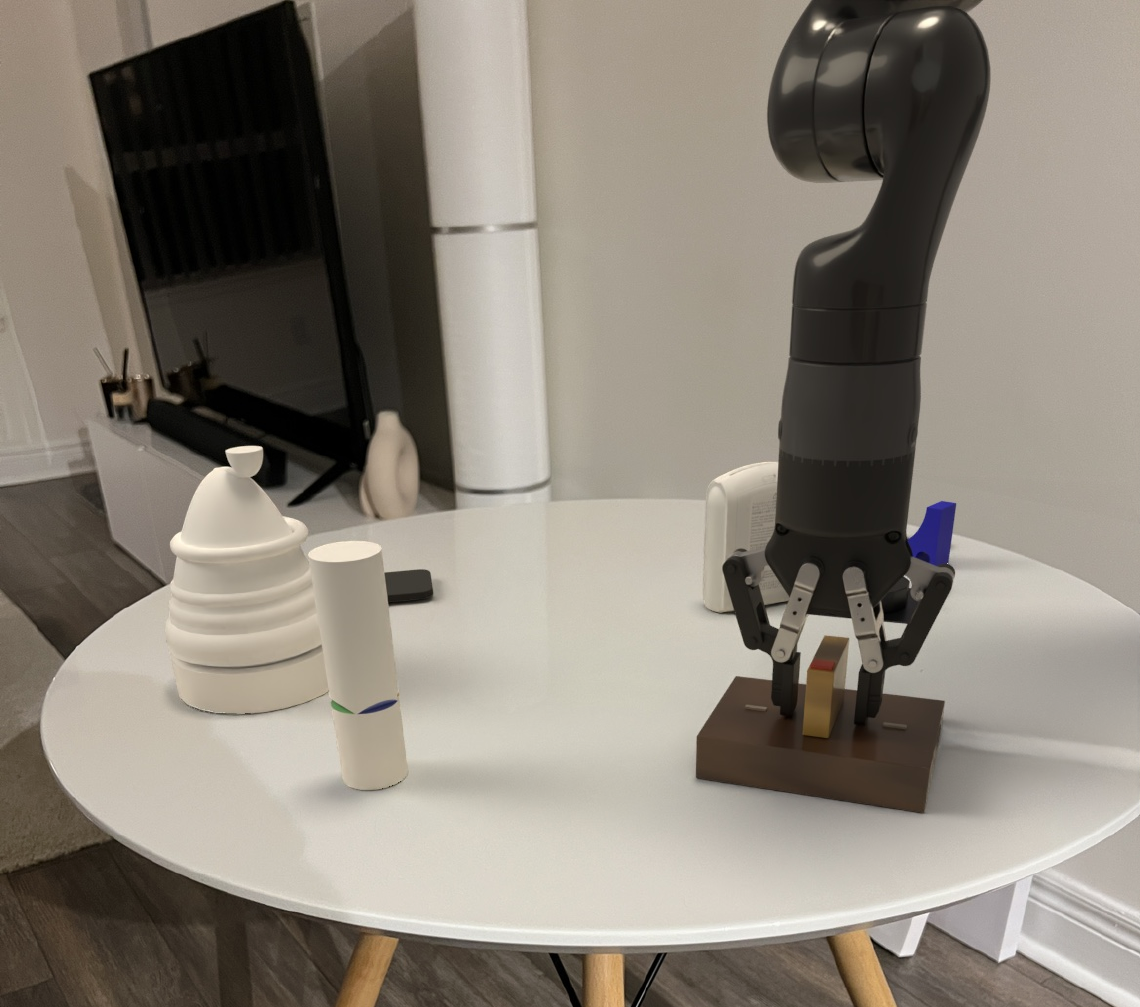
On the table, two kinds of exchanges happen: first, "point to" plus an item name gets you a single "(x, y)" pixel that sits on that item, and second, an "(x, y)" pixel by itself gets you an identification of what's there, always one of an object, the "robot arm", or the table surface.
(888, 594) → the button block
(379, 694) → the tube
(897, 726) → the plate
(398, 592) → the phone
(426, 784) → the table surface
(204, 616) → the honey pot
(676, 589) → the table surface
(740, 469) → the photo printer
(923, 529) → the blue u-shaped cradle
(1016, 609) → the table surface
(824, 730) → the lock knob
